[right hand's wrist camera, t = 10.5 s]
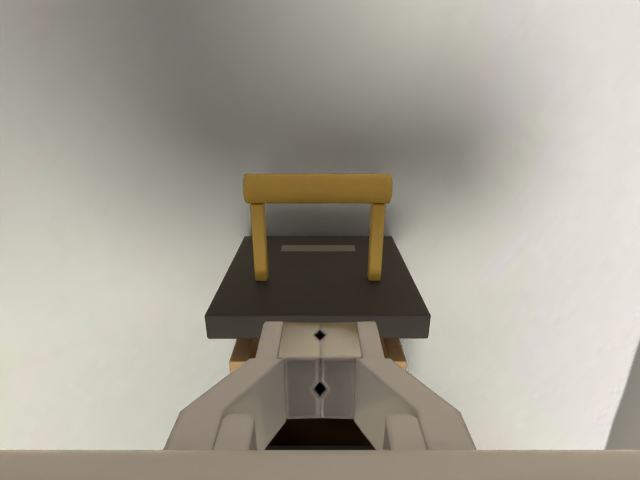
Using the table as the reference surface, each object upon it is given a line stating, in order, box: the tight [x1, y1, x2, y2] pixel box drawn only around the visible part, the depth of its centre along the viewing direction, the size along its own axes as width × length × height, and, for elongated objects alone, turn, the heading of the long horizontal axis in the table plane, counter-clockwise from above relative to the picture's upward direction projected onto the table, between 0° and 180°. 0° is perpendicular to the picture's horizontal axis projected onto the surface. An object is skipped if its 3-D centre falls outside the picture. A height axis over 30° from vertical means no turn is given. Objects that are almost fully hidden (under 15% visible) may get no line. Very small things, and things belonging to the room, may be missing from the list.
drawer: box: [205, 174, 431, 446], centre depth 23 cm, size 25×10×10 cm, turn 0°
